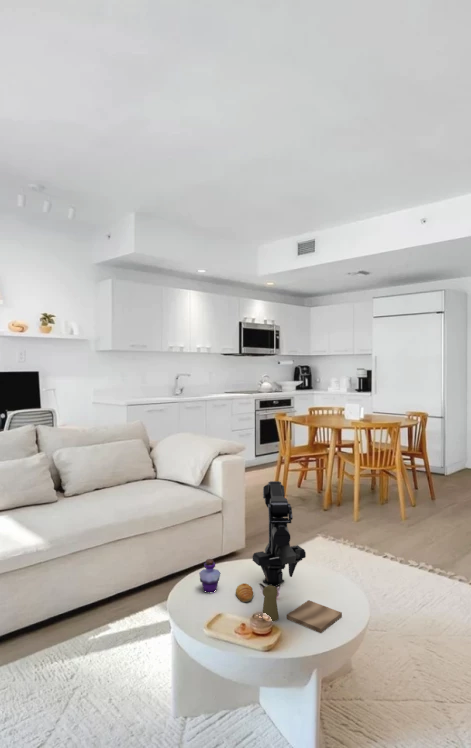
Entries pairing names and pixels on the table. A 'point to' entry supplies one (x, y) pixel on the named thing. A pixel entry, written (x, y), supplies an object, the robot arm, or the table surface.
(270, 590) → the olive rounded upright piece
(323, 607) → the walnut board
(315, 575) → the table surface
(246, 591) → the pastry
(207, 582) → the potion bottle
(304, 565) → the table surface
